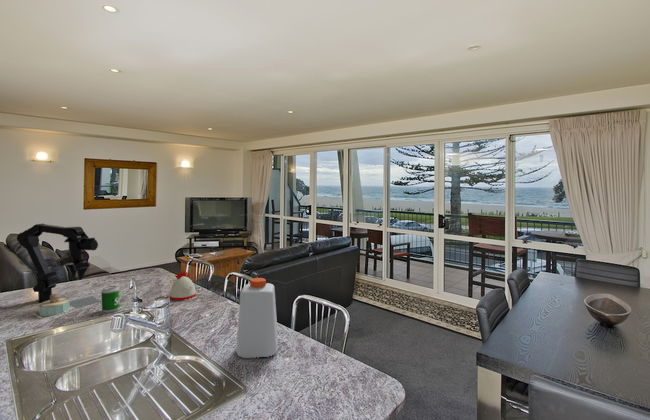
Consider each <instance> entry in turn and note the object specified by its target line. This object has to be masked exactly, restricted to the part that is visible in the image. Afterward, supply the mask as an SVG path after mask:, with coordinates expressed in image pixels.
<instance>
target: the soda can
mask: <svg viewBox="0 0 650 420" xmlns="http://www.w3.org/2000/svg"><path fill="white" fill-rule="evenodd" d="M100 294H101V301H102V302H101V310H102V312H103V313H105V314H112V313H115V312H117V311H119V309H120V305H121V304H120V288H119V287H118V286H116V285H109V286H105V287H103V289H101V293H100Z"/></svg>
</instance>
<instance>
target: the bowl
mask: <svg viewBox="0 0 650 420" xmlns="http://www.w3.org/2000/svg"><path fill="white" fill-rule="evenodd" d="M69 301H70V300H69V299H68V302H67V303H65V304H63V305H59V306H54V307H41V303H39V305H38V313H39V314H38V315H39V316H41V317H51V316H52V317H53V316H58V315H61V314H64V313H67V312H68V311H70V308H71V307H70V306H71V305H70V302H69Z"/></svg>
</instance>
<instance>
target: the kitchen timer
mask: <svg viewBox="0 0 650 420" xmlns="http://www.w3.org/2000/svg"><path fill="white" fill-rule="evenodd" d="M174 277H175V278H176V280H175V281H174V282H173V283H172V285H171V288H170V290H169V291H170V292H169V299H170V300H172V299H173V300H172V301H177V300H179V301H186V300H185V299H187V300H190V299H189V298H191V299H193V298H195V297H196V295H197V291H196V288H195V284H194V283H193V281H192V280H191V279H190V278H189V277H190V273H188V271H186V272H185V270H180V273H179V271H177V274H175V276H174ZM194 296H195V297H194ZM192 297H193V298H192Z"/></svg>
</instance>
